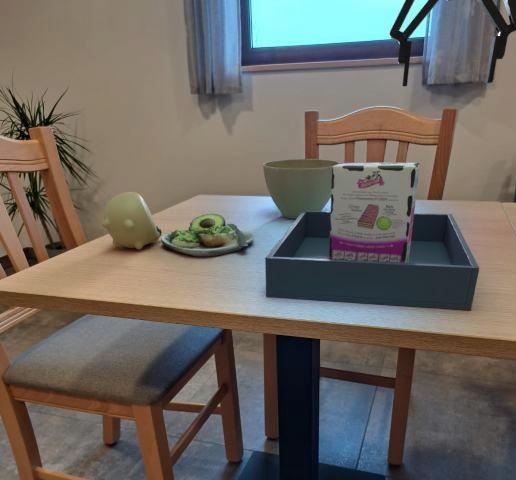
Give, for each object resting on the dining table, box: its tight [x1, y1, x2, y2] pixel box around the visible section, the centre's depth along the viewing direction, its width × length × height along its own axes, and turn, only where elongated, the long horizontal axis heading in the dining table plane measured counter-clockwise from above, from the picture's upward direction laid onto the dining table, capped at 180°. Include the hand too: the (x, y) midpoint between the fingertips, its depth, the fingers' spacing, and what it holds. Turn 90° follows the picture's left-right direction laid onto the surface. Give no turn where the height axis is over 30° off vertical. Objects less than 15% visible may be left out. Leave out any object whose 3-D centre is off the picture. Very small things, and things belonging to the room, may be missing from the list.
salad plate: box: [160, 213, 255, 257], centre depth 91 cm, size 19×18×5 cm
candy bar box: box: [329, 162, 420, 263], centre depth 66 cm, size 11×5×16 cm, turn 67°
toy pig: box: [101, 191, 163, 250], centre depth 91 cm, size 10×12×11 cm
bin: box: [264, 210, 480, 311], centre depth 76 cm, size 28×32×6 cm
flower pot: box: [262, 158, 341, 220], centre depth 111 cm, size 18×18×12 cm
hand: (445, 84), depth 79 cm, fingers open, 13 cm apart
